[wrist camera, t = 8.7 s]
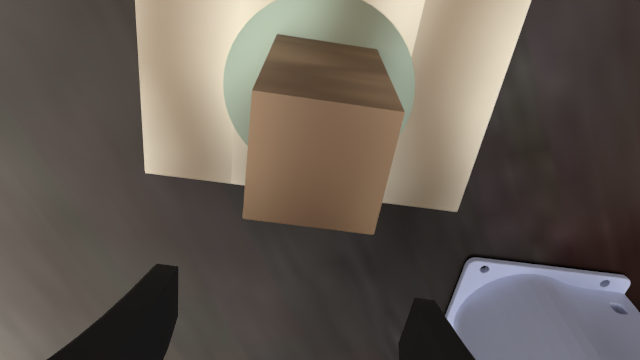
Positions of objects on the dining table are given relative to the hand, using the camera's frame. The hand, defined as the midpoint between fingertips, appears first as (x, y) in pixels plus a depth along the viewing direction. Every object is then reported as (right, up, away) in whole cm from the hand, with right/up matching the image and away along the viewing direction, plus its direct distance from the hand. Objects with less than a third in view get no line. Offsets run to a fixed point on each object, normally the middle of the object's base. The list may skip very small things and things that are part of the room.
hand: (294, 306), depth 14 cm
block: (+1, +8, +5) cm, 9 cm away
